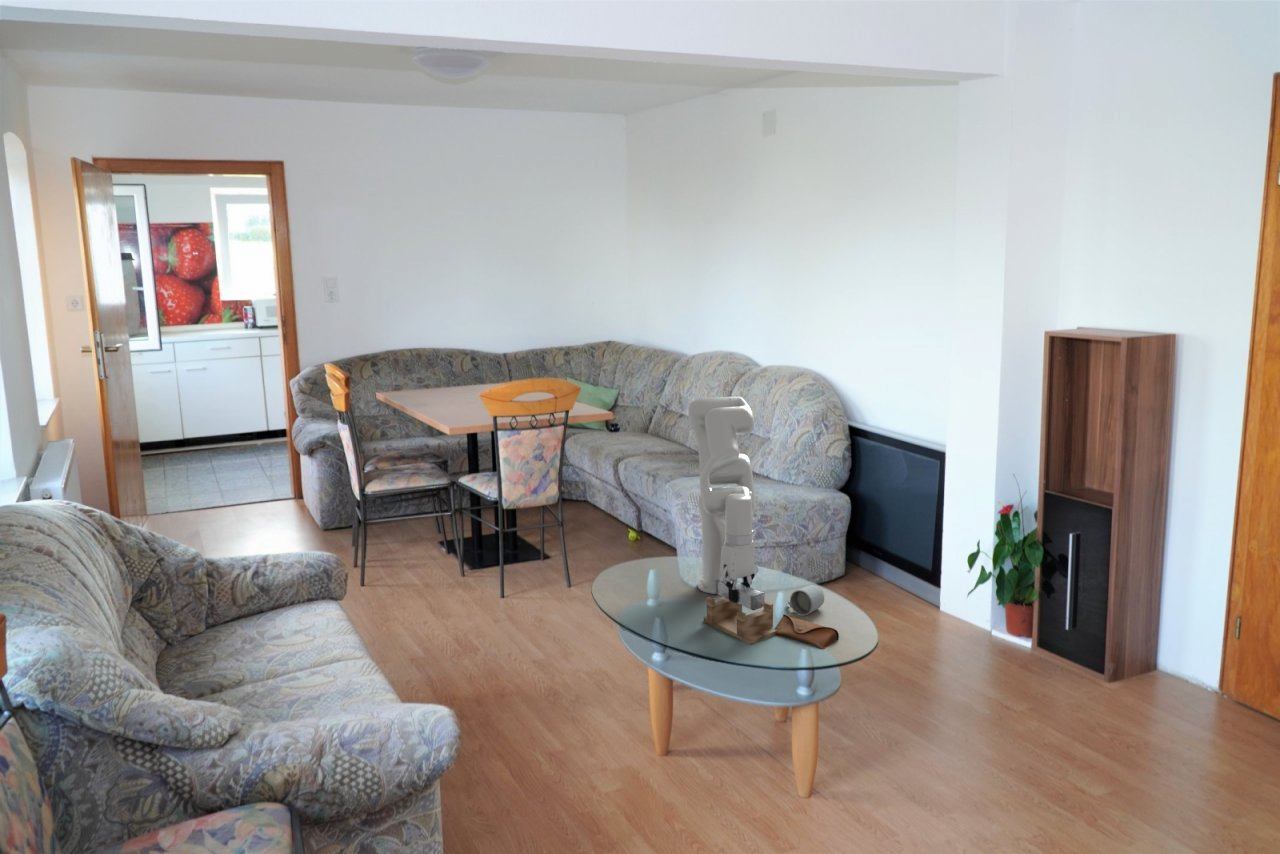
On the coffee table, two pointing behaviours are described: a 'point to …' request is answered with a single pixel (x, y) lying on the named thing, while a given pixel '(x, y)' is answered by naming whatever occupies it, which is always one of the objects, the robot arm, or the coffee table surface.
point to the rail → (742, 595)
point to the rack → (740, 620)
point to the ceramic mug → (806, 600)
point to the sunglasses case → (806, 632)
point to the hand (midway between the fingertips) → (739, 598)
